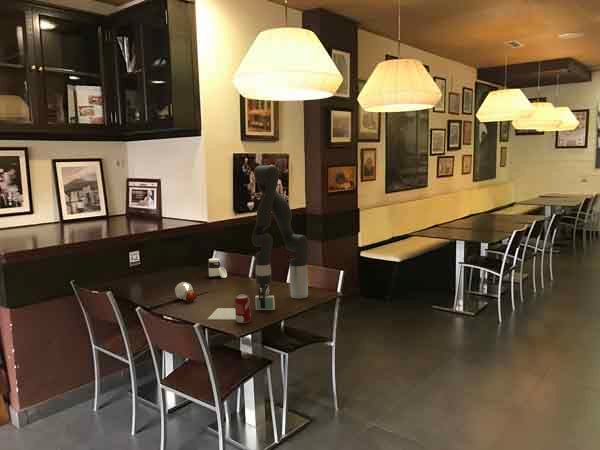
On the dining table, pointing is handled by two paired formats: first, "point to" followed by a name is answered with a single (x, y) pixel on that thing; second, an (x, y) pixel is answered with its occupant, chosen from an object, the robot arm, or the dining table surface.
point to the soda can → (242, 309)
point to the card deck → (268, 303)
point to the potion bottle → (185, 292)
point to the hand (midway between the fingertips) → (264, 305)
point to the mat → (223, 314)
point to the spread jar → (216, 269)
